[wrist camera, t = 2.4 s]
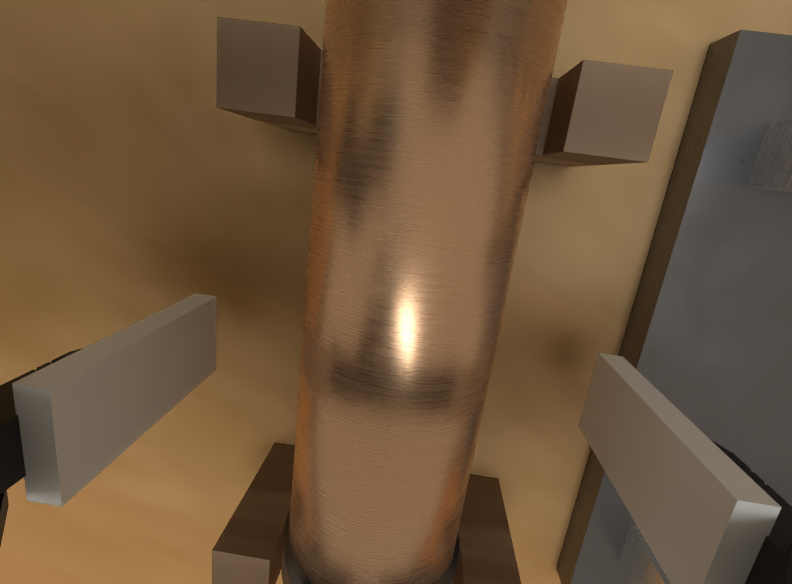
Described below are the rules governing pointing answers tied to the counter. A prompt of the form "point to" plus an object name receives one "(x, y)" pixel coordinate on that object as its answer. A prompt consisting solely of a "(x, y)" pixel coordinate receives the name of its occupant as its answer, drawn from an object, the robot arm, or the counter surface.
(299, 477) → the tube
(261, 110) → the walnut rack
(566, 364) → the counter surface
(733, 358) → the plate
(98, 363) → the robot arm
